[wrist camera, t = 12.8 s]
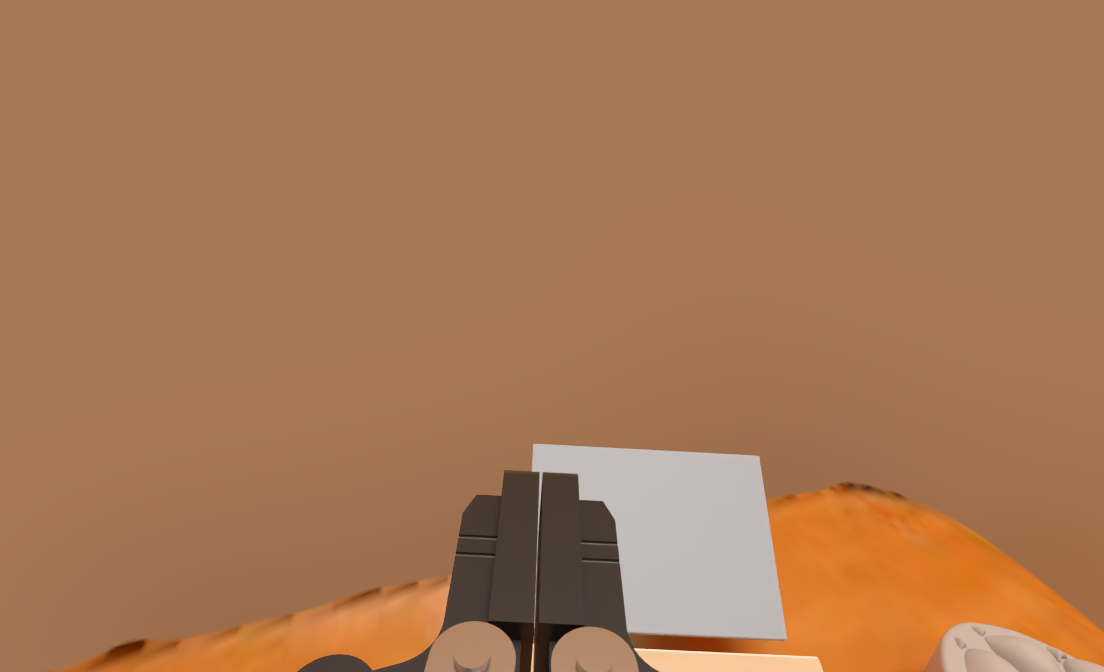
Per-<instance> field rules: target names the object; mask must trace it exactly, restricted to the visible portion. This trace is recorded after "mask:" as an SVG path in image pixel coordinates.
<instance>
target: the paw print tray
mask: <svg viewBox="0 0 1104 672" xmlns="http://www.w3.org/2000/svg"><path fill="white" fill-rule="evenodd" d="M924 672H1104V667H1103V666H1100V665H1098V664H1095V663H1091V662H1088V661H1084V660H1080V659H1075V658H1074V657H1072V656H1070V655H1068V654H1066V653H1064V652H1062V651H1061V650H1059V649H1055V648H1053V647H1051V646H1049V645H1047V644H1044V643H1042V642H1040V641H1038V640H1035V639H1033V638H1031V637H1028V636H1026V635H1023V634H1021V633H1018V632H1016V631H1013V630H1009V629H1006V628H1002V627H997V626H993V625H987V624H980V623H961V624H957V625H955V626H953V627H951V628H950V629H949V630H947V631H946V632H945V633H944V635H943V637H942V638H941V640H940V642H939V644H938V646H937V647H936V649H935V651H934V653H933V655H932V657H931V659H930V661H929V663H928V665H927V666H926V668H925V670H924Z"/></svg>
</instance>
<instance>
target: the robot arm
mask: <svg viewBox="0 0 1104 672" xmlns="http://www.w3.org/2000/svg"><path fill="white" fill-rule="evenodd" d="M539 479H540V472H531V471H512V470H505V471H504V479H503V488H502V496H491V495H476V496H475V498H474V499H473V500H472V502H471V503H470V504H469V506H468V507H467V508H466V510H465V511H464V512H463V515H462V521H461V527H460V533H459V538H458V545H457V550H456V556H455V562H454V567H453V572H452V578H451V584H450V589H449V595H448V601H447V607H446V612H445V618H444V623H443V626H442V629H441V631H440V633H439V635H438V637H437V638H436V640H435V641H434V642H433V643H432V644H431V646H430V647H429V648H427V649H426V650H425V651H424V652H423V653H421V654H419V655H418V656H416V657H415V658H412V659H410V660H408V661H406V662H403V663H400V664H396V665H392V666H388V667H385V668H381V669H377V670H373V671H372V670H371V668H370V667H369V666H368V665H367V664H366V663H365V662H363V661H362V660H360V659H358V658H356V657H353V656H350V655H342V654H339V655H330V656H325V657H322V658H319V659H316V660H314V661H312V662H311V663H309V664H307V665H306V666H304V667H303V668H301V669H300V670H299V671H298V672H531V663H532V649H533V635H534V663H533V672H659V671H657V670H656V669H654V668H652V667H651V666H650V665H649V664H647V663H646V662H645V661H644V660H643V659H642V658H641V657H640V656H639V655H638V653H637V652H636V651H635V649H634V648H633V646H632V644H631V642H630V639H629V637H628V632H627V626H626V616H625V607H624V598H623V588H622V579H621V569H620V564H619V551H618V546H617V543H618V541H617V532H616V523H615V519H614V518H613V516H612V515H611V513H610V511H609V510H608V508H607V507H606V505H605V504H604V502H603V501H592V500H579V481H578V474H572V473H553V472H543V474H542V487H541V502H540V516H539V531H538V507H539ZM537 535H538V549H537ZM536 564H537V576H536ZM535 592H536V605H535ZM534 620H535V634H534Z"/></svg>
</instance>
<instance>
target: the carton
mask: <svg viewBox="0 0 1104 672" xmlns="http://www.w3.org/2000/svg"><path fill="white" fill-rule="evenodd" d="M634 649H635V651H636V652H637V653H638V655H639V656H640V657H641V658H642V659H643V660H644V661H645V662H646V663H647V664H649V665H650V666H651V667H652V668H654V669H656V670H657V671H659V672H823V669H822V667H821V664H820V661H819V659H818V658H817V657H809V656H787V655H766V654H744V653H723V652H701V651H679V650H658V649H636V648H634ZM533 663H534V644H533V649H532V663H531V672H533Z"/></svg>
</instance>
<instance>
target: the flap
mask: <svg viewBox="0 0 1104 672" xmlns="http://www.w3.org/2000/svg"><path fill="white" fill-rule="evenodd" d="M532 472H540V479H539V507H538V531H539V516H540V502H541V487H542V474H543V472H553V473H572V474H578V481H579V500H592V501H603V502H604V504H605V505H606V507H607V508H608V510H609V511H610V513H611V515H612V516H613V518H614V519H615V523H616V532H617V541H618V543H617V546H618V551H619V564H620V569H621V579H622V588H623V598H624V607H625V616H626V626H627V632H628V634H641V635H663V636H684V637H705V638H727V639H748V640H770V641H785V640H787V635H786V629H785V622H784V616H783V609H782V603H781V596H780V590H779V583H778V577H777V570H776V564H775V557H774V551H773V544H772V537H771V531H770V524H769V518H768V511H767V505H766V498H765V492H764V485H763V479H762V472H761V466H760V459H759V456H753V455H735V454H734V455H733V454H715V453H697V452H696V453H695V452H678V451H677V452H676V451H660V450H641V449H622V448H602V447H584V446H566V445H547V444H533V462H532ZM537 549H538V535H537ZM536 576H537V564H536ZM535 605H536V592H535ZM534 629H535V620H534Z"/></svg>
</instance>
